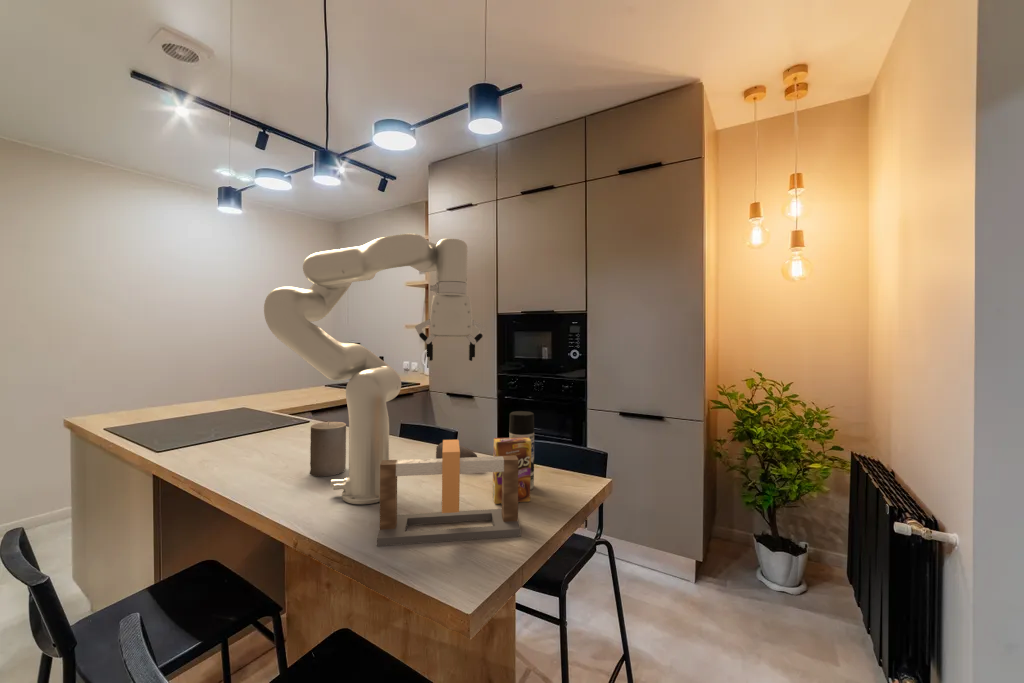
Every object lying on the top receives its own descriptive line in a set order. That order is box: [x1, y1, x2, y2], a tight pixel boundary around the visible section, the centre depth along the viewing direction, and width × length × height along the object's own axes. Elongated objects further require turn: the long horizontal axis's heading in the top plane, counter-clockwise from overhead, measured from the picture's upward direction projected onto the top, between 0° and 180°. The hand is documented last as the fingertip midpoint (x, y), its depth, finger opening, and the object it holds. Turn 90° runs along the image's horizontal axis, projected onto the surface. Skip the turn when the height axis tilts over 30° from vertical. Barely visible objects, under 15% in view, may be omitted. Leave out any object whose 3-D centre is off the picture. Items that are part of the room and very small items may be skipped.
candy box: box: [491, 437, 531, 505], centre depth 100 cm, size 9×4×15 cm, turn 103°
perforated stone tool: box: [435, 442, 478, 459], centre depth 124 cm, size 15×5×7 cm, turn 59°
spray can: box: [508, 410, 535, 491], centre depth 108 cm, size 7×7×20 cm
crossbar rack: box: [376, 455, 522, 547], centre depth 85 cm, size 28×10×14 cm, turn 99°
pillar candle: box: [309, 419, 347, 478], centre depth 119 cm, size 10×10×15 cm
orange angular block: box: [441, 439, 461, 513], centre depth 85 cm, size 10×3×12 cm, turn 9°
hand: (450, 360), depth 100 cm, fingers open, 9 cm apart
